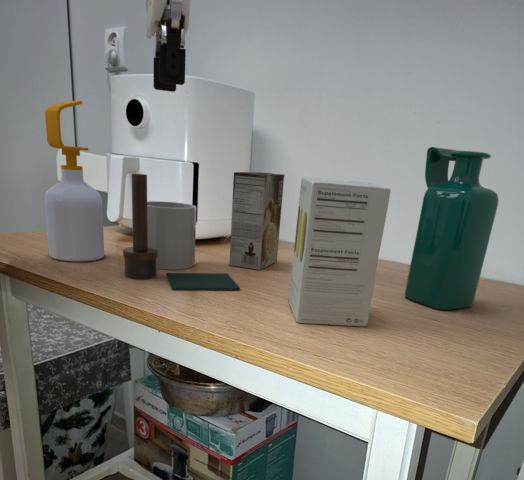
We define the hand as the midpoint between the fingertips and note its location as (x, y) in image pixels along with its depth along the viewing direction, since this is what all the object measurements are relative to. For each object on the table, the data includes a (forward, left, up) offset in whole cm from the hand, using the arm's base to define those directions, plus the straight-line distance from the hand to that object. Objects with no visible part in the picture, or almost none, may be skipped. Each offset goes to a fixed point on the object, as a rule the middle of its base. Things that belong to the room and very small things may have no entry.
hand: (168, 87), depth 67 cm
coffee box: (+17, +11, -27) cm, 33 cm away
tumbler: (+1, +10, -27) cm, 28 cm away
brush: (-4, +1, -27) cm, 27 cm away
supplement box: (+19, -19, -27) cm, 38 cm away
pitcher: (+40, -13, -27) cm, 50 cm away
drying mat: (+5, -3, -27) cm, 27 cm away
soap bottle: (-14, +14, -27) cm, 33 cm away
